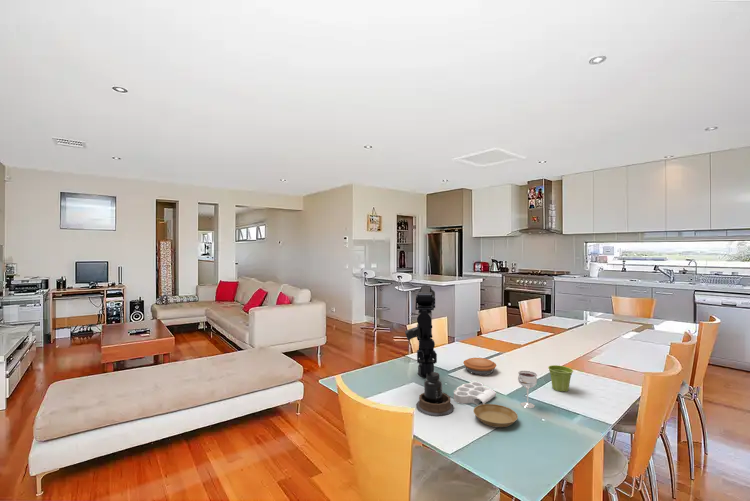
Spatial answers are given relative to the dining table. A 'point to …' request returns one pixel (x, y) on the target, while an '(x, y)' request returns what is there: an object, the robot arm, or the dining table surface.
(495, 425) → the plant saucer
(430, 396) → the supplement bottle
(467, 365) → the pie
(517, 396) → the dining table surface
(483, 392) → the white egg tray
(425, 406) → the walnut collar
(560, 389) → the plant pot
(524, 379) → the wineglass
